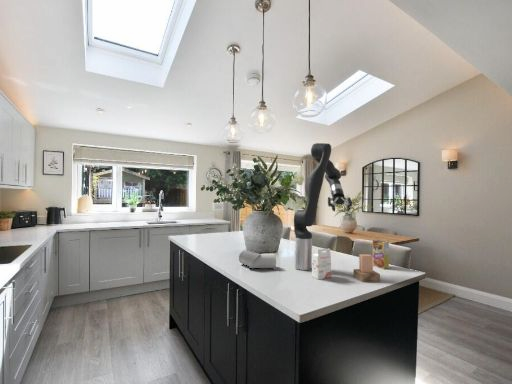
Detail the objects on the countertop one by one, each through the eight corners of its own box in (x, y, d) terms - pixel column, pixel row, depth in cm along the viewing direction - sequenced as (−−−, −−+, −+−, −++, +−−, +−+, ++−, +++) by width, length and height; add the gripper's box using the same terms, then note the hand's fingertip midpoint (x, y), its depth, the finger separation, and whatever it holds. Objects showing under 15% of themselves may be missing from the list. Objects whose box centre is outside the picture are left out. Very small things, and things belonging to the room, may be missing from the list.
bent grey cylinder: (239, 269, 140) (276, 269, 142) (240, 249, 143) (276, 249, 145) (238, 268, 157) (271, 267, 159) (238, 250, 160) (270, 250, 162)
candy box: (372, 265, 158) (372, 239, 158) (377, 264, 159) (377, 239, 159) (383, 269, 149) (383, 242, 150) (389, 268, 151) (389, 242, 151)
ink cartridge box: (324, 274, 137) (324, 246, 137) (331, 277, 132) (331, 248, 133) (311, 276, 133) (311, 247, 133) (318, 279, 128) (318, 249, 129)
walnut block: (362, 282, 126) (362, 274, 126) (353, 277, 135) (353, 269, 135) (380, 282, 127) (380, 274, 127) (370, 276, 136) (370, 268, 136)
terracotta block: (362, 272, 129) (362, 255, 129) (359, 269, 134) (359, 253, 134) (372, 272, 129) (372, 256, 129) (369, 270, 134) (369, 254, 134)
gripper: (326, 187, 168) (330, 206, 157) (349, 188, 167) (355, 206, 156) (325, 196, 174) (328, 214, 162) (347, 196, 173) (352, 214, 161)
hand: (341, 210), depth 159 cm, fingers open, 8 cm apart
